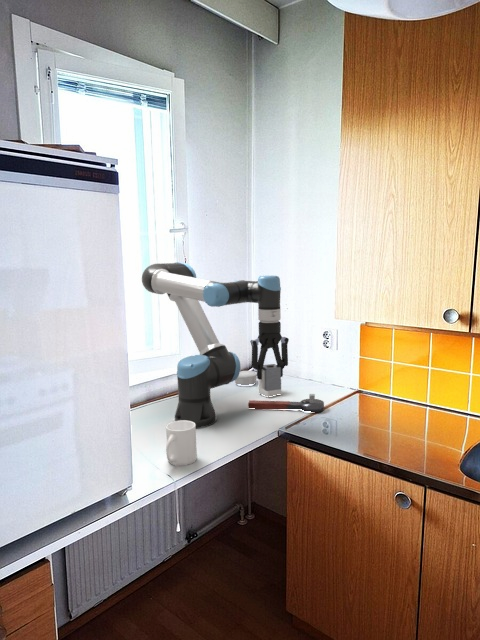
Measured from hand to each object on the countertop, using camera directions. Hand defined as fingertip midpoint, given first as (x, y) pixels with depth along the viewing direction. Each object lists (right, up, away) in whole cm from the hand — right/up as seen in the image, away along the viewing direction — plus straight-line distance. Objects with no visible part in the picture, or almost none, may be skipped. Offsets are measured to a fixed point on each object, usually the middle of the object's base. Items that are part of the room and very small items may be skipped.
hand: (270, 386), depth 162 cm
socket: (0, 0, 0) cm, 0 cm away
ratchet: (+7, -11, +19) cm, 23 cm away
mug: (-28, -19, -26) cm, 42 cm away
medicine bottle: (+2, -9, +38) cm, 39 cm away
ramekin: (-8, -7, +55) cm, 56 cm away
